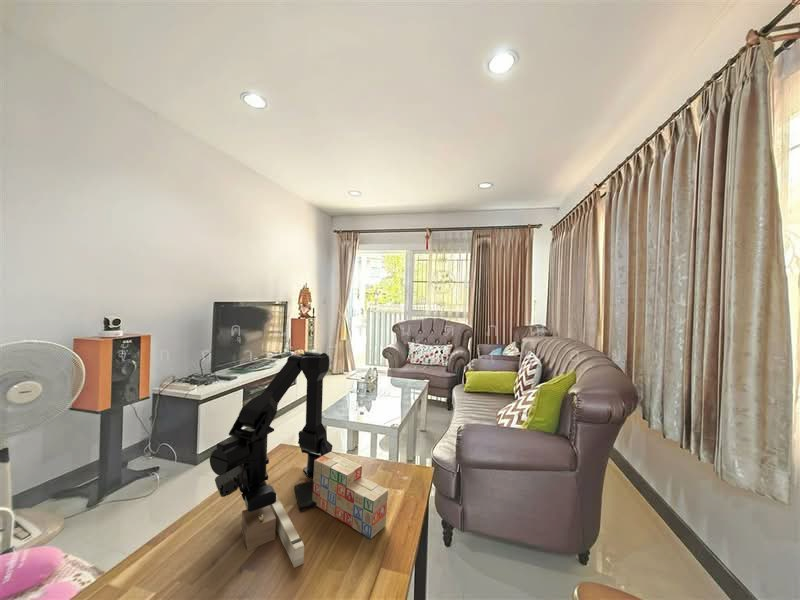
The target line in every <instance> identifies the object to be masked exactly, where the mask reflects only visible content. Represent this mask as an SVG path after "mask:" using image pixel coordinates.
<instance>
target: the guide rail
mask: <svg viewBox="0 0 800 600" xmlns="http://www.w3.org/2000/svg"><path fill="white" fill-rule="evenodd" d="M270 507H271V509H272V511H273V513H274V515H275V518H276V529H275V531H276V532H277V534H278V537H279V539H280V540H281V542H282V545H283V547H284V549H285V551H286V553H287V555H288V558H289V559H290V562H291V563H292V566H293V568H297V567H299V566H302V565H303V564H304V561H305V560H304V559H305V545H304V542H303V539H302V538H301V536H300V535H299V534H298V532H297V530H296V528H295V526H294V524H293V522H292V520H291V518H290V517H289V515H288V513H287V511H286V510H285V508H284V506H283V504H282V502H281V501H280V499H279V497H278V495H277V494H276V502H275V503H274V504H272V505H270Z"/></svg>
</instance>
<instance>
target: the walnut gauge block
mask: <svg viewBox="0 0 800 600" xmlns="http://www.w3.org/2000/svg"><path fill="white" fill-rule="evenodd" d="M241 515H242V516H241V533H242V537H243V541H244V543H245V547H246V550H247V551H250V550H253V549H254V548H258V547H259V546H263V545H265V544H267V543H269V542H272V541H274V540H276V518H275V515H274V513H273V511H272V509H271V507H270V505H269V506H266V507H263V508H260V509H257V510H255V511H252V512H249V511H248V510H247V509H245V510H244V509H243V510H242V512H241Z"/></svg>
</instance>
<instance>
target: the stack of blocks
mask: <svg viewBox="0 0 800 600" xmlns="http://www.w3.org/2000/svg"><path fill="white" fill-rule="evenodd" d="M362 469H363V466H362V465H361V464H359V463H356V462H353V460H352V461H351V460H350V459H347V458H345V457H343V456H340V455H338V454H336V453H335V452H332V451H331V452H329V453H327V454H325V455H323V456H321V457H319V458H317V459H316V460H314V476H313V478H312V480H313V481H314V482H313V496H312V501H314V502H316V506H315V507H318V508H319V509H320V510H322V511H323V512H325V513H327V514H329V515H330V516H332V517H334V518H336V519H338V520H339V521H340V522H342V523H344V524H346V525H348V526H349V527H351V528H352V529H354V530H356V531H357V532H358V533H360V534H362V535H363V536H365V537H367V538H368V539H371V540H372V538H374V536H376V535H377V534H378V533H379V532H381V530H382V529H383V528H385V526H386V524H387V508H388V499H389V490H388V489H387V488H385V487H384V486H382V485H379V484H377V483H376V482H373V481H371V480H369V479H367V478H365V477H362Z"/></svg>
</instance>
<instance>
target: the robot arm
mask: <svg viewBox="0 0 800 600" xmlns="http://www.w3.org/2000/svg"><path fill="white" fill-rule="evenodd" d="M329 367H330V356H329V355H328V353H326V352H320V351H313V350H308V351H305V353H298V354H290V355H289V356H288V357H287V360H286V363H284V365H283V366H282V367H281V369H280V370H279V371H278V373H277V374H276V375H275V376H274V378H273V379H272V380H271V382H270V383H269V384H268V385H267V387H266V388H265V389H264V390H263V391H262V392H261V393H260V394H258V395H256V396H255V397H254V396H253V397H252V398H251V399H250V400H249V401H248V402H246V404H244V406H243V407H242V408H241V409H240V410H239V413H238V416H237V418H236V420H235V421H234V424H233V425H232V427H231V428H230V430H229V432H228V436H230V438H228V439H226V440H223V441H220V442H218V443H217V444H216V449H214V450H212V452H211V454H210V456H209V465H210V467H211V468H210V469H211V470H212V471H213V472H214V474H216V475H217V476H216V477H215V478H214V482H215V487H216V489H217V490H218V493H219V495H220V497H221V498H225V497H228V496H229V495H231V494H233V493H234V492H236V491H237V490H238V489H239V492H240V493H241V497H242V500H243V501H244V505H245V507H246V510H248V511H249V512H252V511H255V510H257V509H260V508H263V507H266V506H269V505H272V504H274V503H275V502H276V495H277V493H276V492H277V491H276V490H275V489H274V486H272V485H270V483H269V484H268V483H267V482H266V481H267V480H269V474H268V472H267V465H268V464H269V463H270V459H269V457H268V435H269V434H271V433H273V432H275V428H273V427H272V426H271V424H272V422H273V420H274V418H275V417H276V415H277V413H278V406H279V403H280V401H281V400H282V398H283V397H284V396H285V394H286V393H287V391H288V390H289V389H290V387H291V386H292V385H293V383H294V382H295V381H296V379H297V378H298V376H299V375H300V374H301V372H302V374H303V376H304V378H305V379H306V397H305V398H306V403H305V425H304V426H303V428H302V429H301V430H299V432H298V441H297V444H298V446H299V448H300V450H301V453H302V454H307V460H306V461H307V462H306V463H307V465H306V466H305V467H303V468H302V469H303V471H304V473H305V474H306V476H307V477H308V478H309V479H313V476H314V460H316V459H317V458H319V457H321V456H323V455H325V454H327V453H329V452H332V451H333V445H332V443H331V442H330V441H328V437H327V436H328V435H327V431H326V429H325V426H324V424H323V421H322V419H323V394H324V393H323V389H324V384H323V383H324V378H325V377H326V375H327V373H328V372H329ZM244 428H247V430H246V429H244ZM248 429H251V430H250V431H249V430H248Z"/></svg>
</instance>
